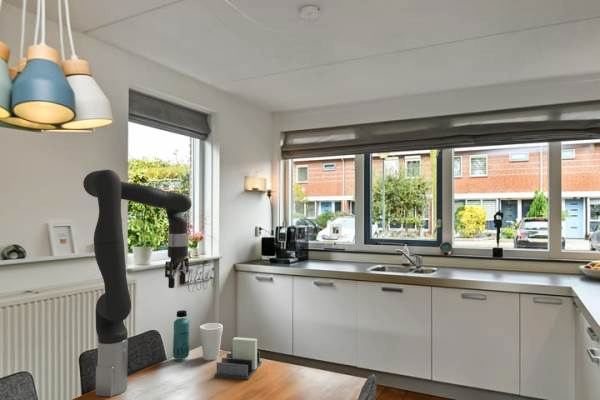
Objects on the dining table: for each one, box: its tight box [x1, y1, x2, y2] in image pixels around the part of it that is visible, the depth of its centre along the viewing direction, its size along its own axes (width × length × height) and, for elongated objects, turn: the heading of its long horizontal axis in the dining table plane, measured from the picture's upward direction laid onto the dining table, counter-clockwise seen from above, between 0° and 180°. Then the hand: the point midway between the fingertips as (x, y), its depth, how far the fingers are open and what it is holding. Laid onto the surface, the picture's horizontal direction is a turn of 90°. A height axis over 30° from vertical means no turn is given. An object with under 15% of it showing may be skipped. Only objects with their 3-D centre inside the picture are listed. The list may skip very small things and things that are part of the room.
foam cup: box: [199, 322, 224, 361], centre depth 172 cm, size 10×9×13 cm
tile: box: [232, 336, 258, 370], centre depth 158 cm, size 3×9×11 cm, turn 78°
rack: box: [214, 348, 262, 381], centre depth 158 cm, size 16×13×5 cm
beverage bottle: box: [172, 309, 190, 360], centre depth 169 cm, size 6×7×20 cm
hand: (177, 286), depth 162 cm, fingers open, 8 cm apart
